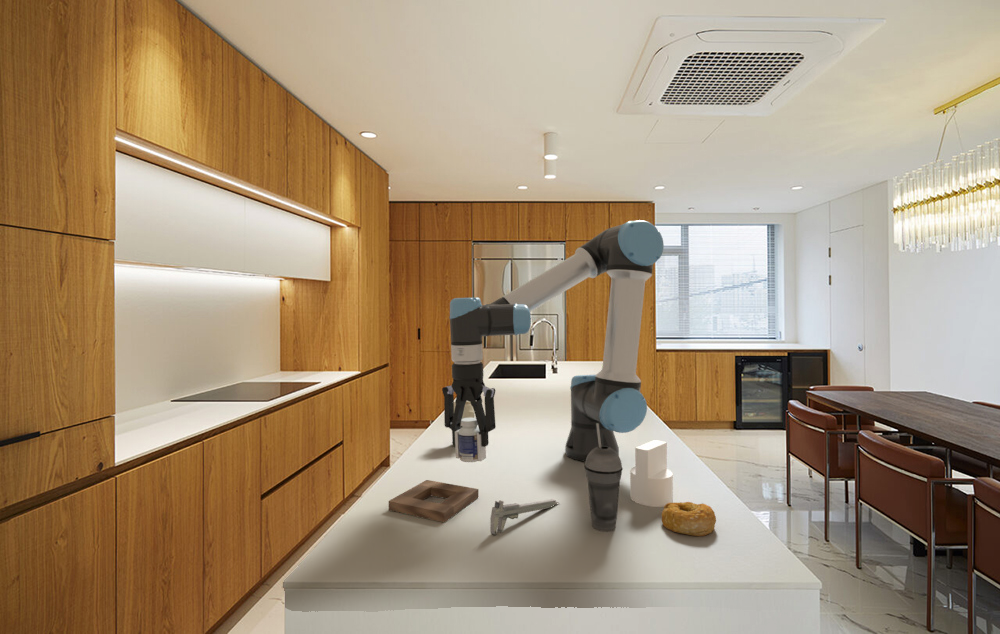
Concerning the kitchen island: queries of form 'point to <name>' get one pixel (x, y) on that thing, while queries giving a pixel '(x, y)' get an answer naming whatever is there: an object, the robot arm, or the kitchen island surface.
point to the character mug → (466, 411)
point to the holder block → (443, 511)
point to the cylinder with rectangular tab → (651, 475)
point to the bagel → (689, 518)
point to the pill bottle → (468, 440)
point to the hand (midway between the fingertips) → (470, 457)
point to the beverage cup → (603, 485)
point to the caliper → (514, 512)
